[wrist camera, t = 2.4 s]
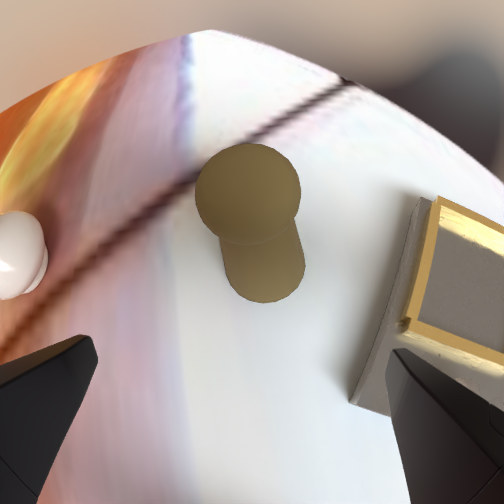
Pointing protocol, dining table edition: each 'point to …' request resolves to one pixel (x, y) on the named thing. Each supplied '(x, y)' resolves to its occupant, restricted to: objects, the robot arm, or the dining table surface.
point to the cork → (254, 219)
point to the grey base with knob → (444, 304)
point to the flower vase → (21, 254)
